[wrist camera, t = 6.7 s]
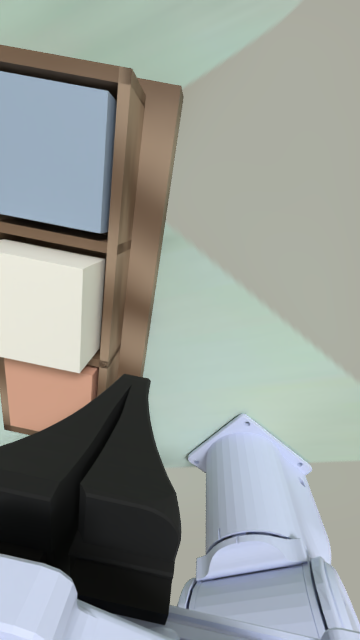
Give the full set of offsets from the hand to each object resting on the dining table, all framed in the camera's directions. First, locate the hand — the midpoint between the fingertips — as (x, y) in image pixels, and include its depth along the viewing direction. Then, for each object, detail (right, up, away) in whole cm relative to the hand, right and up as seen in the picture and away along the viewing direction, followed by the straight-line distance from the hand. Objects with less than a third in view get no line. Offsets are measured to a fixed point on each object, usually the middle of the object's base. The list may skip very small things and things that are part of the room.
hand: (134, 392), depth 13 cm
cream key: (-6, +5, +5) cm, 9 cm away
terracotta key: (-7, -1, +10) cm, 12 cm away
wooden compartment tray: (-6, +7, +8) cm, 12 cm away
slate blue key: (-4, +13, +4) cm, 14 cm away
